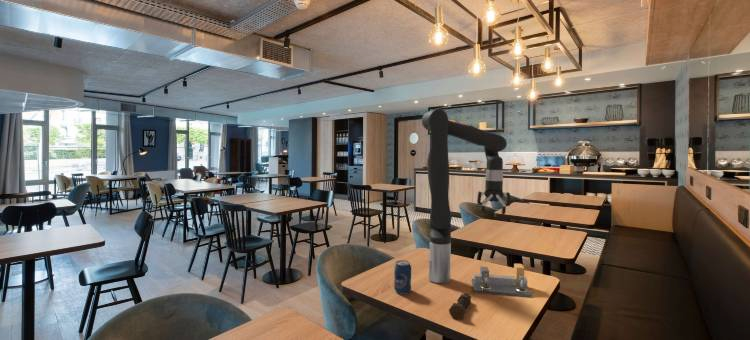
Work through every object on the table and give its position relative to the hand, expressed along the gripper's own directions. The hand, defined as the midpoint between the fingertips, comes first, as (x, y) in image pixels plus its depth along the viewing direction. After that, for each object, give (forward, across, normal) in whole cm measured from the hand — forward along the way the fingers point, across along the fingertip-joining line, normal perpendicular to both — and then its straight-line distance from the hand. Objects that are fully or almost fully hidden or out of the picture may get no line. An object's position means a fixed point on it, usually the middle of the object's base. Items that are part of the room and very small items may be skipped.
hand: (493, 214), depth 157 cm
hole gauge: (+28, +1, -17) cm, 33 cm away
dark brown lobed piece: (+28, -16, -39) cm, 51 cm away
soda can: (+28, -39, -27) cm, 55 cm away
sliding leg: (+26, +9, -15) cm, 32 cm away
